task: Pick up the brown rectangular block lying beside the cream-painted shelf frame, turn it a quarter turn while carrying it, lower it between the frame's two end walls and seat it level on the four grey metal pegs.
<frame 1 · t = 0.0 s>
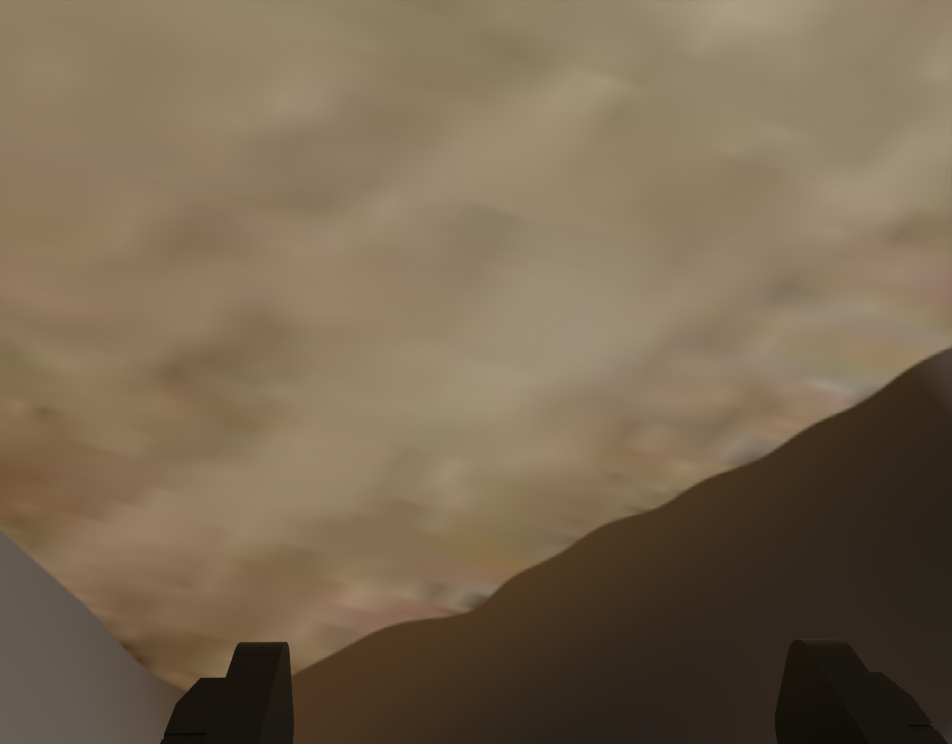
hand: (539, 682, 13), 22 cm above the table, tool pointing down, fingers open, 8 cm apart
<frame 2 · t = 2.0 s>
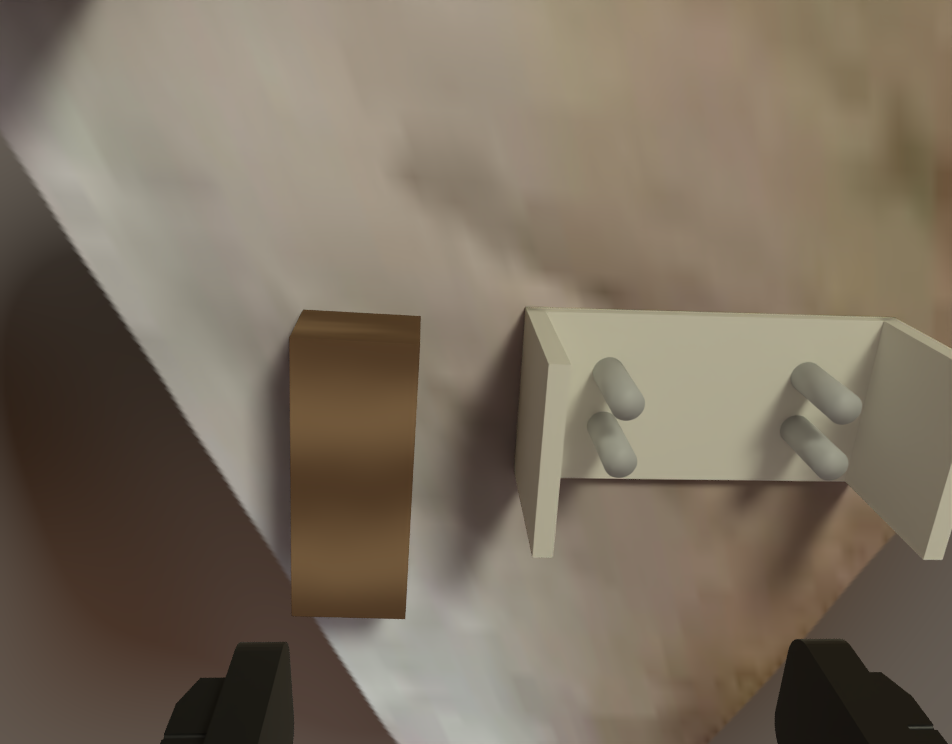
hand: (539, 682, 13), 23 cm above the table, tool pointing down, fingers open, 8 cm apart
brown rectangular block: (359, 445, 37), on the table
shelf frame: (699, 396, 37), on the table
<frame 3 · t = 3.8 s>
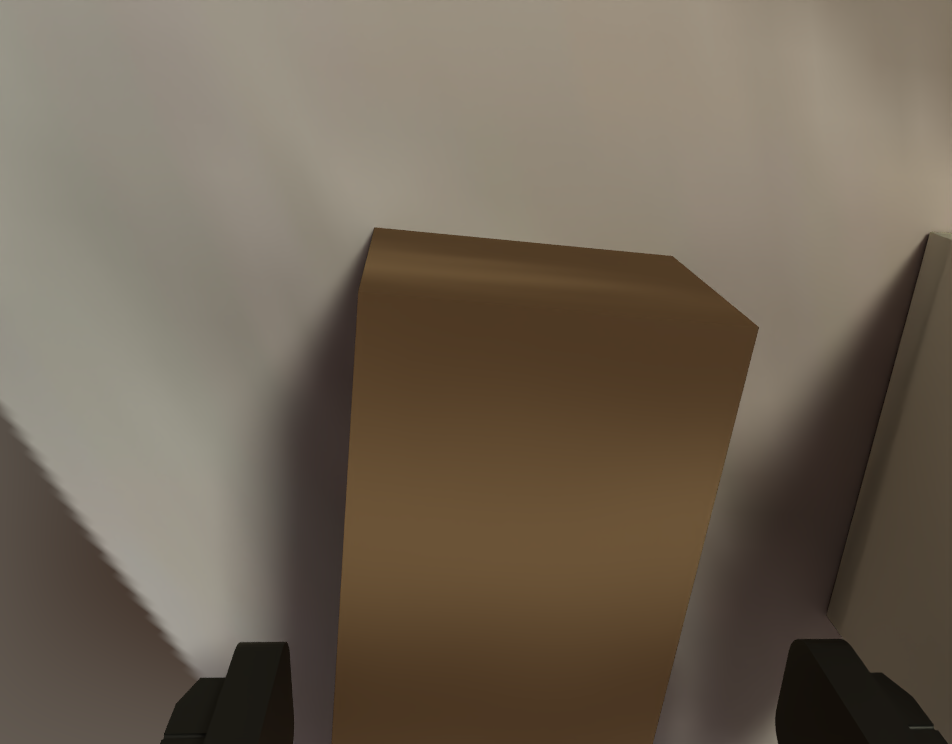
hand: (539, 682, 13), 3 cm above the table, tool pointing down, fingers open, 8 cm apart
brown rectangular block: (480, 560, 16), on the table
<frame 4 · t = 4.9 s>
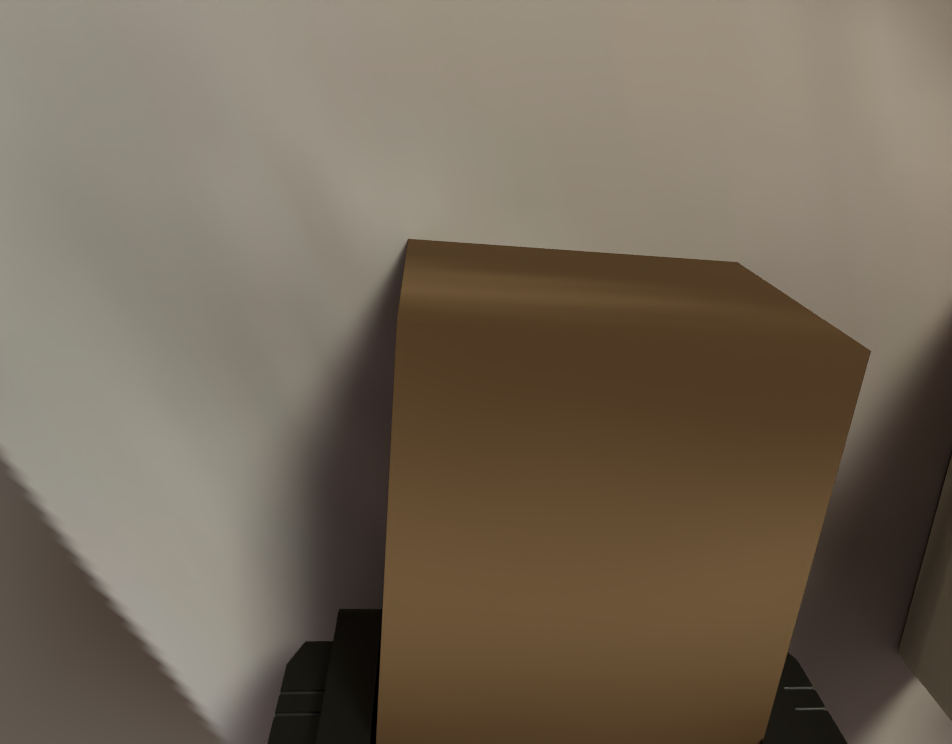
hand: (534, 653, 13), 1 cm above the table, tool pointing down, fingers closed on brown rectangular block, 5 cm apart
brown rectangular block: (529, 607, 14), on the table, touching gripper
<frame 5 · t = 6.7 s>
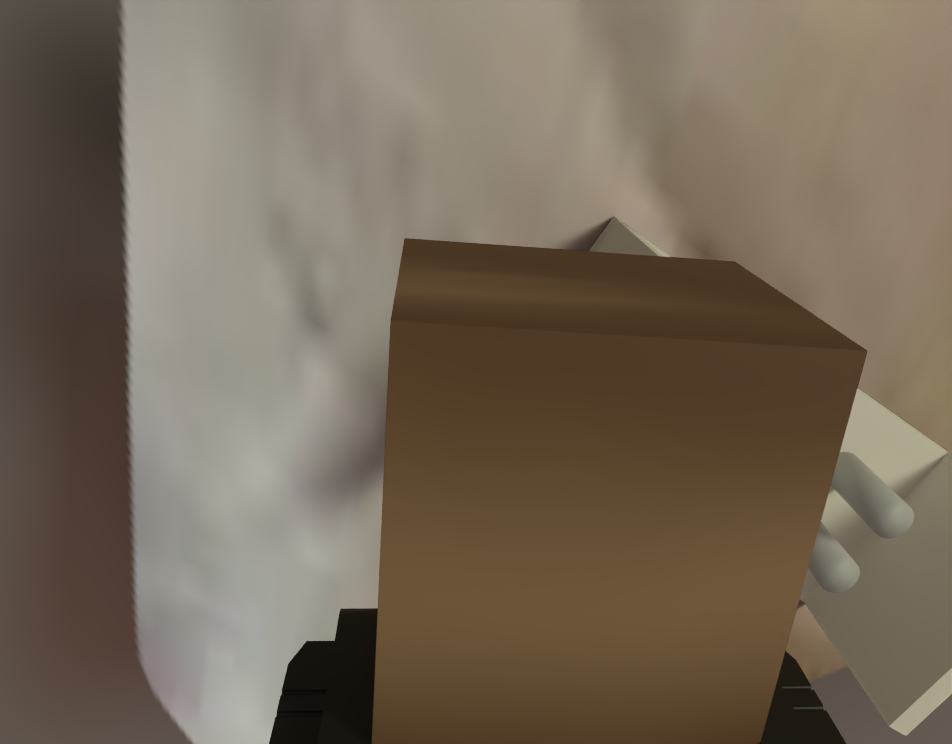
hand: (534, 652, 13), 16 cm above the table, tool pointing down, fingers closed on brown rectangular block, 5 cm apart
brown rectangular block: (527, 608, 14), point 15 cm above the table, touching gripper
shelf frame: (723, 429, 30), on the table
when the fingers open (6 cm above the table, at t = 8.8 s): brown rectangular block stays where it is, resting on shelf frame.
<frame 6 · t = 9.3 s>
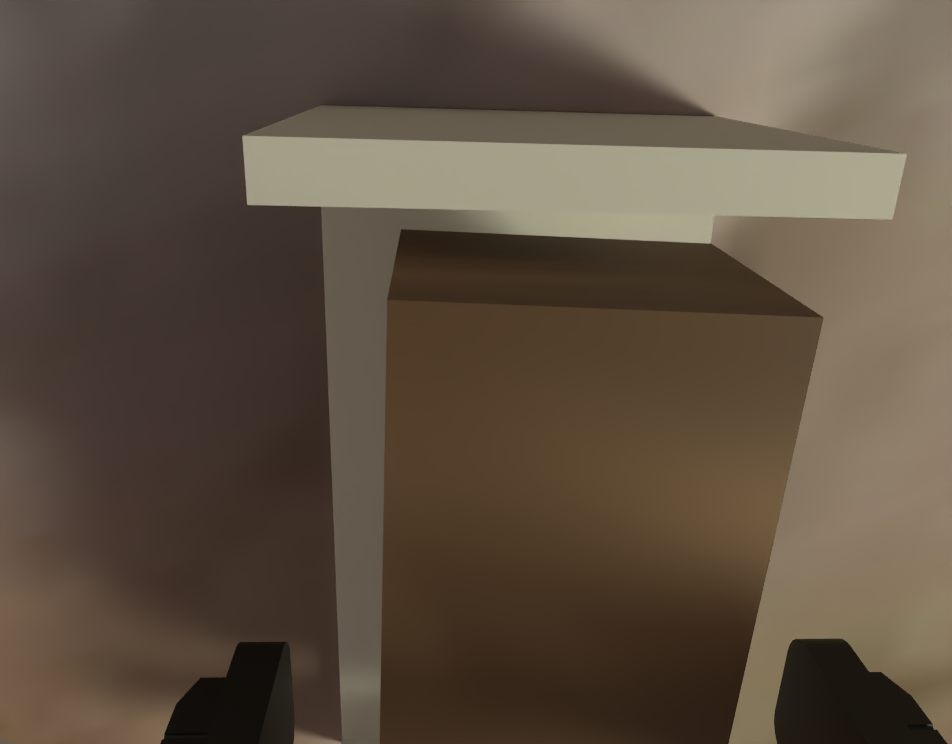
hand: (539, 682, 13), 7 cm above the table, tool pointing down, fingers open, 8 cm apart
brown rectangular block: (525, 577, 15), point 4 cm above the table, touching shelf frame
shelf frame: (504, 476, 19), on the table
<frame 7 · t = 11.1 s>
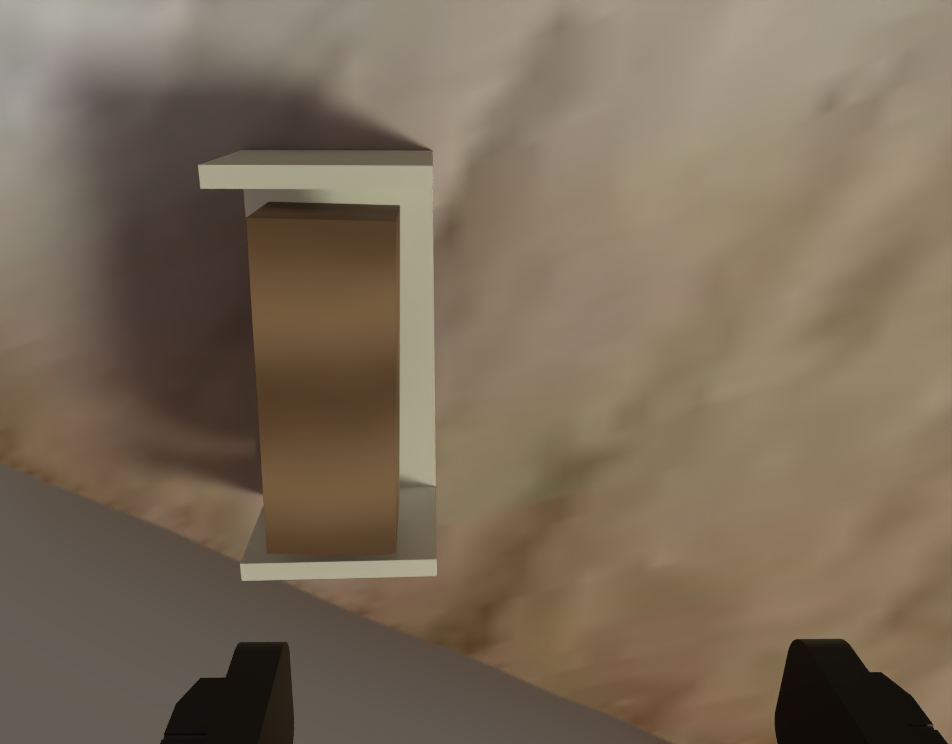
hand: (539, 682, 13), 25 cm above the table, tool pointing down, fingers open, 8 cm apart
brown rectangular block: (338, 363, 33), point 4 cm above the table, touching shelf frame
shelf frame: (347, 336, 37), on the table
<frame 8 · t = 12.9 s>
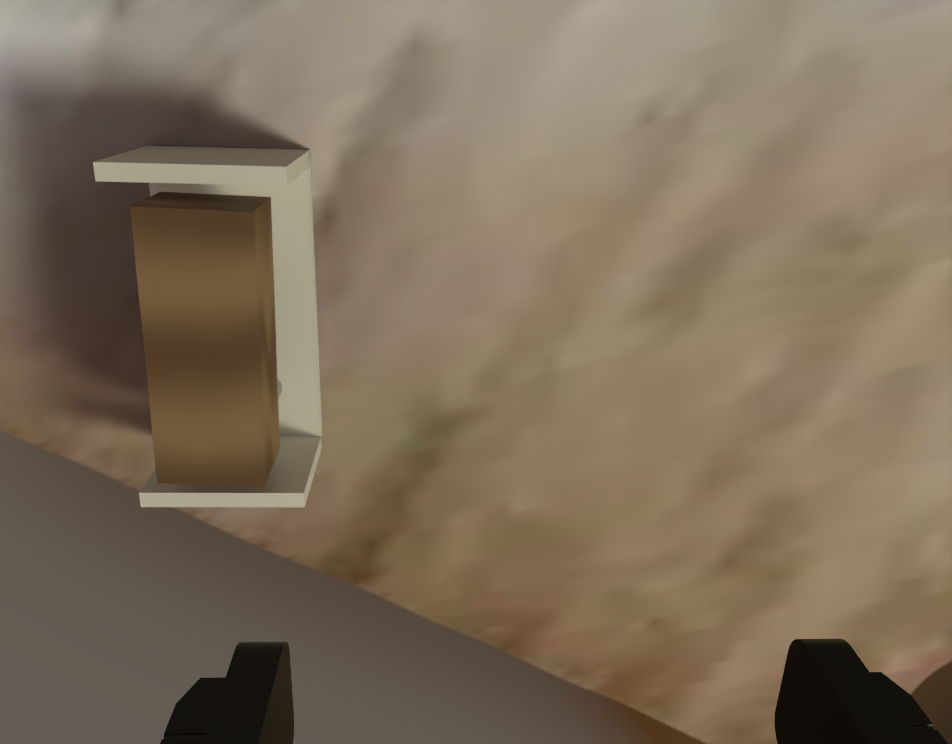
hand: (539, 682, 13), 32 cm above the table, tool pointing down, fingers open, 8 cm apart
brown rectangular block: (224, 328, 39), point 4 cm above the table, touching shelf frame
shelf frame: (242, 306, 43), on the table
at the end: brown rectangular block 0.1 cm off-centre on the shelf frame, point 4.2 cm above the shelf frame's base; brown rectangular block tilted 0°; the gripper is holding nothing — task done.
